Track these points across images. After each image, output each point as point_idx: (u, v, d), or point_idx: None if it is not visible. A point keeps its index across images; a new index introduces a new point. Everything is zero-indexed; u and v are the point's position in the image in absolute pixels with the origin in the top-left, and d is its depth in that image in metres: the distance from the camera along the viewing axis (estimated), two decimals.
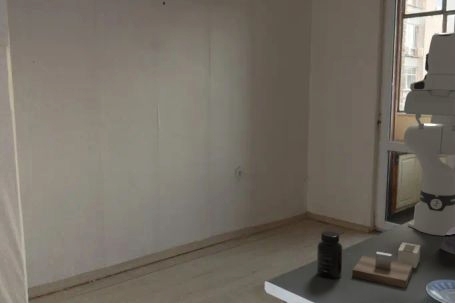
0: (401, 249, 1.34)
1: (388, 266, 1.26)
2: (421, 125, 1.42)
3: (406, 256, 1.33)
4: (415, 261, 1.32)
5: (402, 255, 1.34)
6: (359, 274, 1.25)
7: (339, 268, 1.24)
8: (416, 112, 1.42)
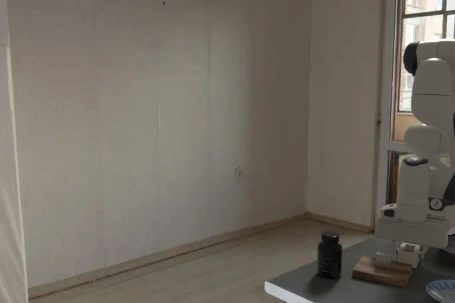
0: (401, 249, 1.34)
1: (388, 266, 1.26)
2: (397, 251, 1.37)
3: (406, 256, 1.33)
4: (415, 261, 1.32)
5: (402, 255, 1.34)
6: (359, 274, 1.25)
7: (339, 268, 1.24)
8: (387, 238, 1.37)
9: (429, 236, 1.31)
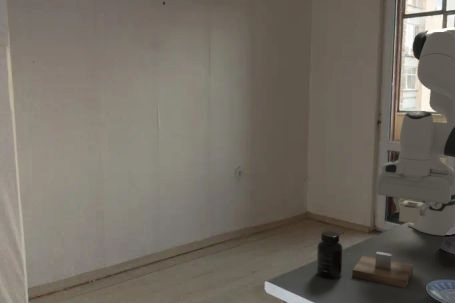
0: (403, 205, 1.32)
1: (388, 266, 1.26)
2: (399, 208, 1.35)
3: (408, 212, 1.31)
4: (417, 217, 1.30)
5: (404, 211, 1.31)
6: (359, 274, 1.25)
7: (339, 268, 1.24)
8: (389, 194, 1.35)
9: (431, 191, 1.29)
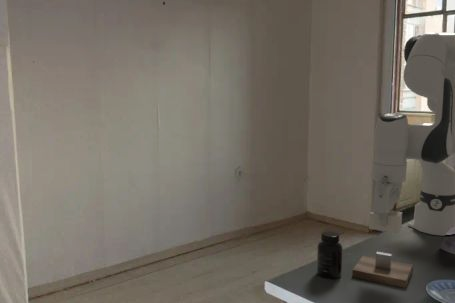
0: None
1: (388, 266, 1.26)
2: None
3: None
4: None
5: None
6: (359, 274, 1.25)
7: (339, 268, 1.24)
8: None
9: None
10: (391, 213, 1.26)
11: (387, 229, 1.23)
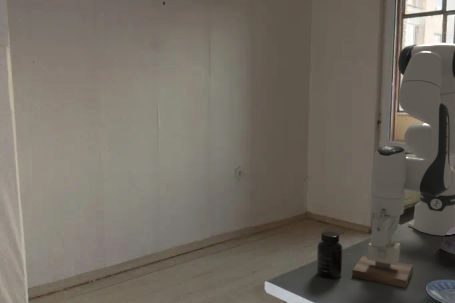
0: None
1: (388, 266, 1.26)
2: None
3: None
4: (368, 252, 1.27)
5: None
6: (359, 274, 1.25)
7: (339, 268, 1.24)
8: None
9: None
10: (389, 244, 1.27)
11: (385, 261, 1.24)
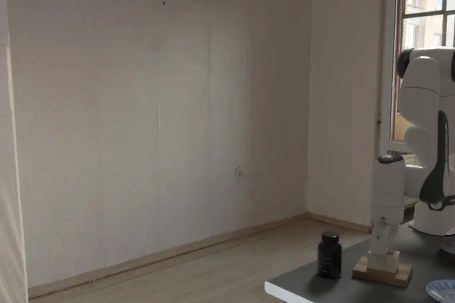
0: None
1: None
2: None
3: None
4: None
5: None
6: (359, 274, 1.25)
7: (339, 268, 1.24)
8: None
9: None
10: (389, 252, 1.28)
11: (385, 269, 1.25)
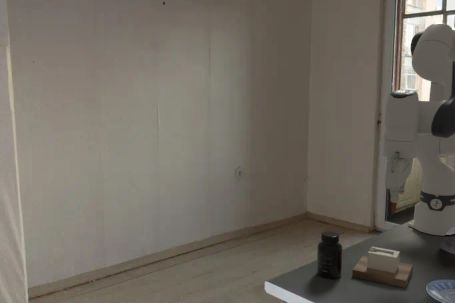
0: (374, 248, 1.30)
1: None
2: None
3: None
4: None
5: None
6: (359, 274, 1.25)
7: (339, 268, 1.24)
8: None
9: None
10: (389, 252, 1.28)
11: (385, 269, 1.25)
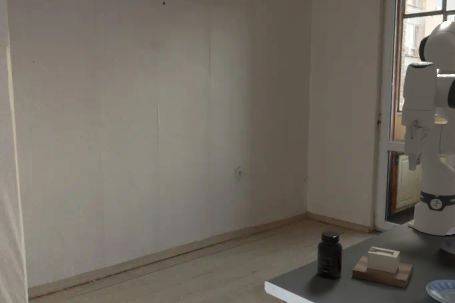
0: (374, 248, 1.30)
1: None
2: None
3: None
4: None
5: None
6: (359, 274, 1.25)
7: (339, 268, 1.24)
8: None
9: None
10: (389, 252, 1.28)
11: (385, 269, 1.25)
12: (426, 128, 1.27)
